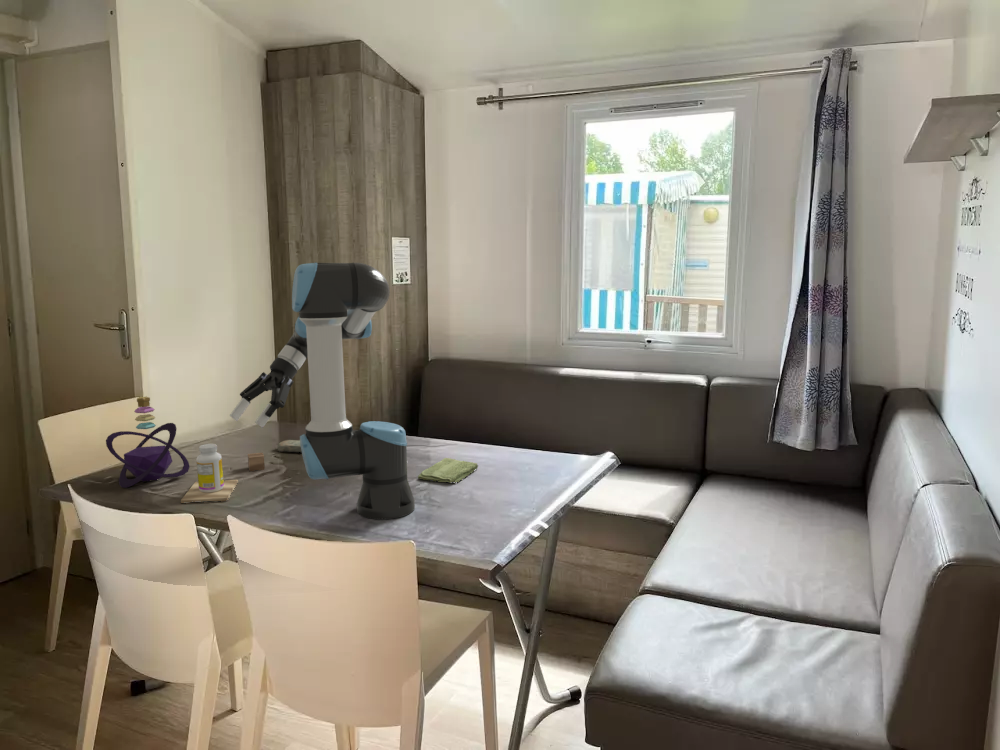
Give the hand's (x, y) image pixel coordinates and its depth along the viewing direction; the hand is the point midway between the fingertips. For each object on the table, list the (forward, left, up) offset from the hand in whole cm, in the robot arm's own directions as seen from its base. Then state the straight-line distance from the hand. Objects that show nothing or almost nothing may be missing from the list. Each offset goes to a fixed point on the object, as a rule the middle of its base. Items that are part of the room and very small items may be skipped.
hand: (245, 421), depth 213 cm
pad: (-7, +9, -19) cm, 22 cm away
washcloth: (-1, -59, -19) cm, 62 cm away
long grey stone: (+32, -20, -19) cm, 43 cm away
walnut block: (+15, 0, -19) cm, 24 cm away
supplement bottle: (-7, +9, -18) cm, 21 cm away
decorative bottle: (+10, +30, -19) cm, 37 cm away
